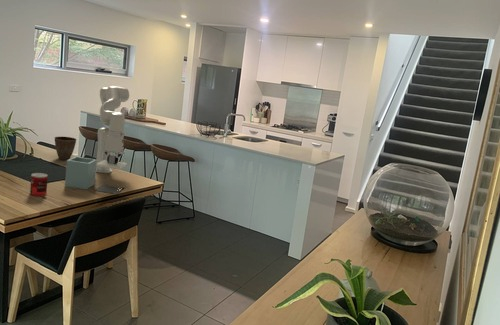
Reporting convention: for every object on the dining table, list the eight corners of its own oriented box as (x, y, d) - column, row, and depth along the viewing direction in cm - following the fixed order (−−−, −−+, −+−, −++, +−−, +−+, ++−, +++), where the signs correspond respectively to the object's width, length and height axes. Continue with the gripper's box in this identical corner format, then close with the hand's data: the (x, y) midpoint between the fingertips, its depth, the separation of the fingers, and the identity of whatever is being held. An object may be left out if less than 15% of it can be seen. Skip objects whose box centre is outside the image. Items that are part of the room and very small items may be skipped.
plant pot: (69, 162, 284) (70, 141, 282) (49, 159, 284) (50, 138, 281) (78, 158, 299) (79, 138, 296) (59, 155, 299) (60, 135, 296)
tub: (73, 180, 242) (75, 156, 239) (94, 184, 243) (96, 159, 240) (64, 186, 229) (66, 160, 227) (86, 189, 230) (89, 163, 227)
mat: (102, 184, 244) (102, 184, 244) (124, 188, 245) (124, 187, 245) (94, 190, 230) (94, 190, 230) (117, 194, 231) (117, 193, 231)
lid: (104, 162, 241) (105, 152, 240) (126, 166, 242) (127, 156, 241) (96, 167, 227) (97, 156, 226) (120, 170, 228) (121, 159, 227)
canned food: (33, 191, 212) (35, 172, 210) (48, 193, 213) (50, 174, 211) (27, 195, 205) (28, 175, 203) (42, 197, 206) (44, 177, 204)
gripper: (130, 135, 235) (127, 164, 238) (103, 131, 234) (100, 160, 237) (127, 136, 228) (124, 166, 231) (99, 132, 227) (96, 162, 230)
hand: (112, 163), depth 234 cm, fingers closed on lid, 3 cm apart
